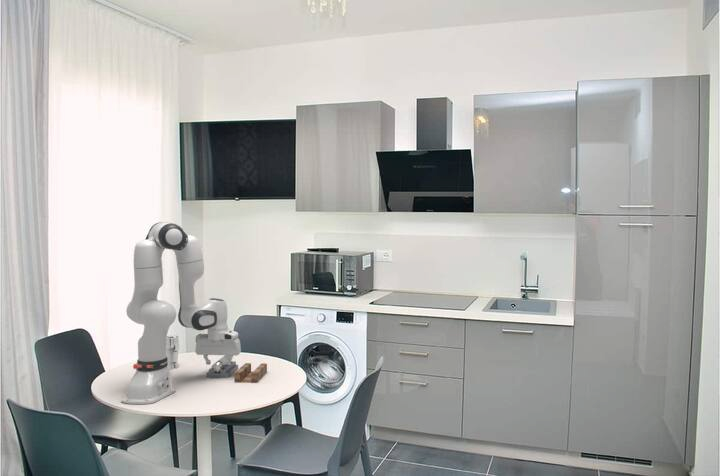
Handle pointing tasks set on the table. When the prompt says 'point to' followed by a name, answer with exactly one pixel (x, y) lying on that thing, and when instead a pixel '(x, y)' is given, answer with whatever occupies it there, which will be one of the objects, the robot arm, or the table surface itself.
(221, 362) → the axle
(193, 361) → the table surface
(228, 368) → the v block
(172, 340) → the beer glass
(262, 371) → the wooden channel cradle
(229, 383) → the table surface
